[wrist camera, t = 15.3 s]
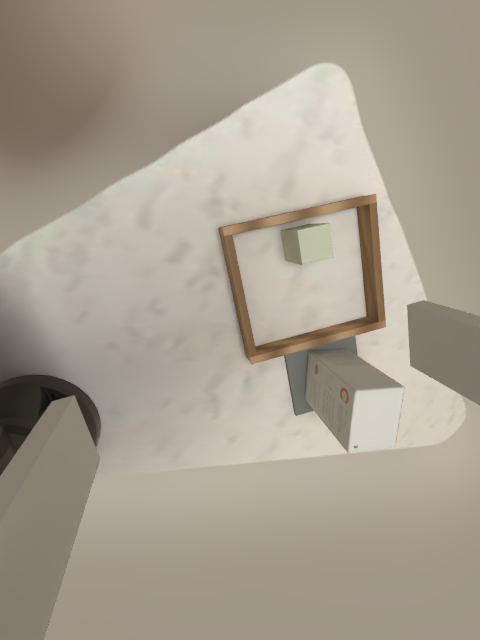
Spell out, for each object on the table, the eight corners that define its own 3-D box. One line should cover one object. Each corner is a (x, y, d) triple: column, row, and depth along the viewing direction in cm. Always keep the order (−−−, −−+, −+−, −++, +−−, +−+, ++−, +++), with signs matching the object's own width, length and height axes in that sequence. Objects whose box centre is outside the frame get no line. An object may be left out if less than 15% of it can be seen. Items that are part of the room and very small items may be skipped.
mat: (294, 413, 51) (296, 415, 51) (283, 349, 48) (284, 350, 47) (359, 394, 53) (361, 395, 52) (352, 330, 49) (354, 331, 49)
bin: (246, 356, 47) (251, 364, 44) (218, 227, 42) (222, 227, 39) (373, 321, 50) (385, 326, 47) (362, 196, 44) (376, 194, 42)
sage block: (285, 260, 45) (302, 265, 39) (280, 230, 43) (297, 230, 38) (313, 253, 45) (333, 257, 39) (309, 224, 44) (329, 223, 38)
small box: (342, 396, 51) (396, 449, 39) (303, 399, 50) (347, 455, 38) (347, 347, 49) (406, 386, 37) (307, 349, 48) (354, 391, 36)
